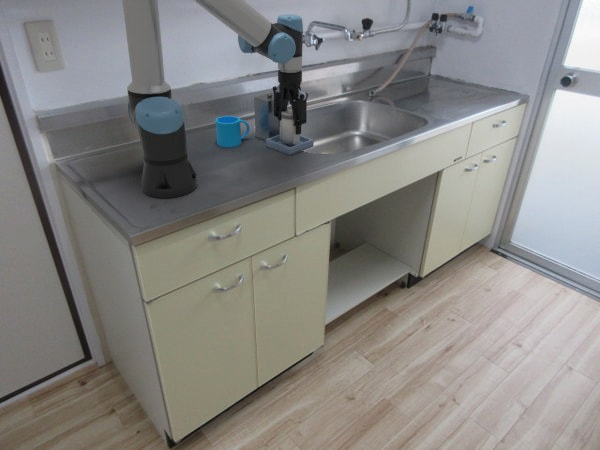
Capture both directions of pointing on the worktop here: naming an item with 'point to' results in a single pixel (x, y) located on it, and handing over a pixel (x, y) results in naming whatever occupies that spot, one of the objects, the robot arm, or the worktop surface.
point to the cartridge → (287, 127)
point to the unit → (265, 117)
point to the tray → (289, 149)
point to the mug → (229, 131)
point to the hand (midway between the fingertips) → (289, 140)
